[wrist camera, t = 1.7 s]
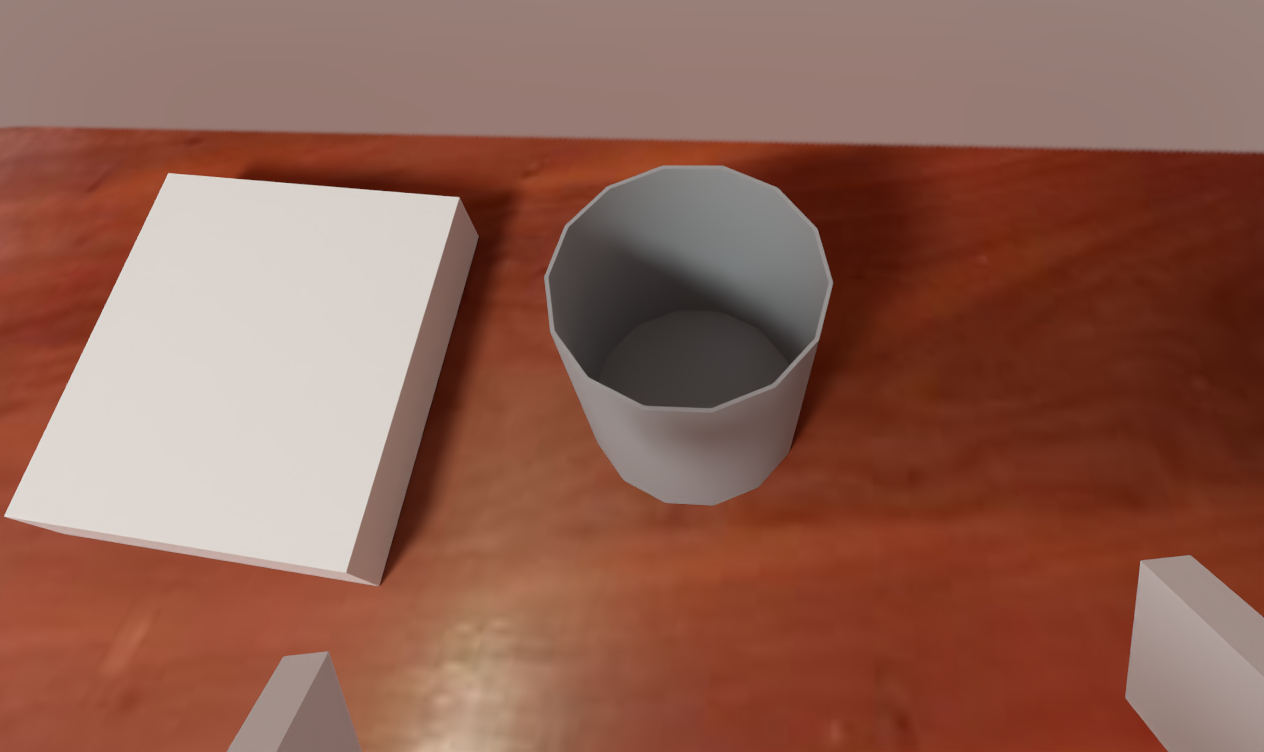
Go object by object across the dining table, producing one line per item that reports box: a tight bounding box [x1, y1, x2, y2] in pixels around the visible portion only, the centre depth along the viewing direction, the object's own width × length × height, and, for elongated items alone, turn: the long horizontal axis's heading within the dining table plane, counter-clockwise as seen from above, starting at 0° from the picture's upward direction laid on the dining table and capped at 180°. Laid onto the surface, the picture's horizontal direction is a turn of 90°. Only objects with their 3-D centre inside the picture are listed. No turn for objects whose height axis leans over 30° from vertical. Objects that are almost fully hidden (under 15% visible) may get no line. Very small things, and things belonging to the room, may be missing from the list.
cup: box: [544, 166, 833, 505], centre depth 28 cm, size 8×8×10 cm
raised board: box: [4, 173, 479, 586], centre depth 33 cm, size 14×16×3 cm
